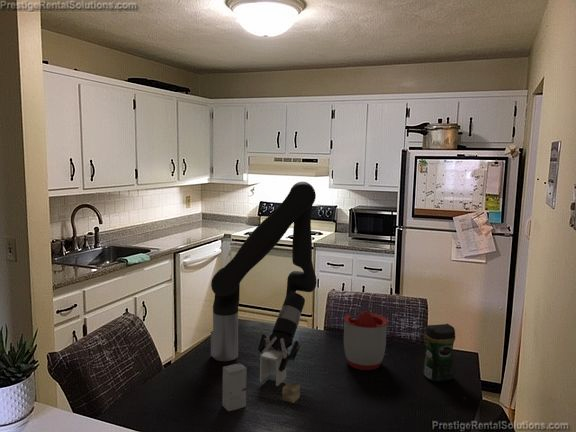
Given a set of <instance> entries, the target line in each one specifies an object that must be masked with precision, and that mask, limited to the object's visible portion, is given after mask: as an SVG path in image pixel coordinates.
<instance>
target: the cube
mask: <svg viewBox="0 0 576 432" xmlns="http://www.w3.org/2000/svg"><path fill="white" fill-rule="evenodd" d="M300 395H301V384H297V383H292V382H287V383H285V385H284V386H283V387H282V401H285V402H289V403H293V404H294V403H296V402H297V401H298V400H299V399H300V397H301V396H300ZM295 401H296V402H295Z"/></svg>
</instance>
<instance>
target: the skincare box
mask: <svg viewBox="0 0 576 432" xmlns="http://www.w3.org/2000/svg"><path fill="white" fill-rule="evenodd" d="M222 406H223V408H224V409H226V411H227V412H231V411H236V410H239V409H242V408H245V407H246V406H247V367H246V366H244V365H243V364H242V363H240V362H239V363H236V364H230V365H226V366H222Z"/></svg>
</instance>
